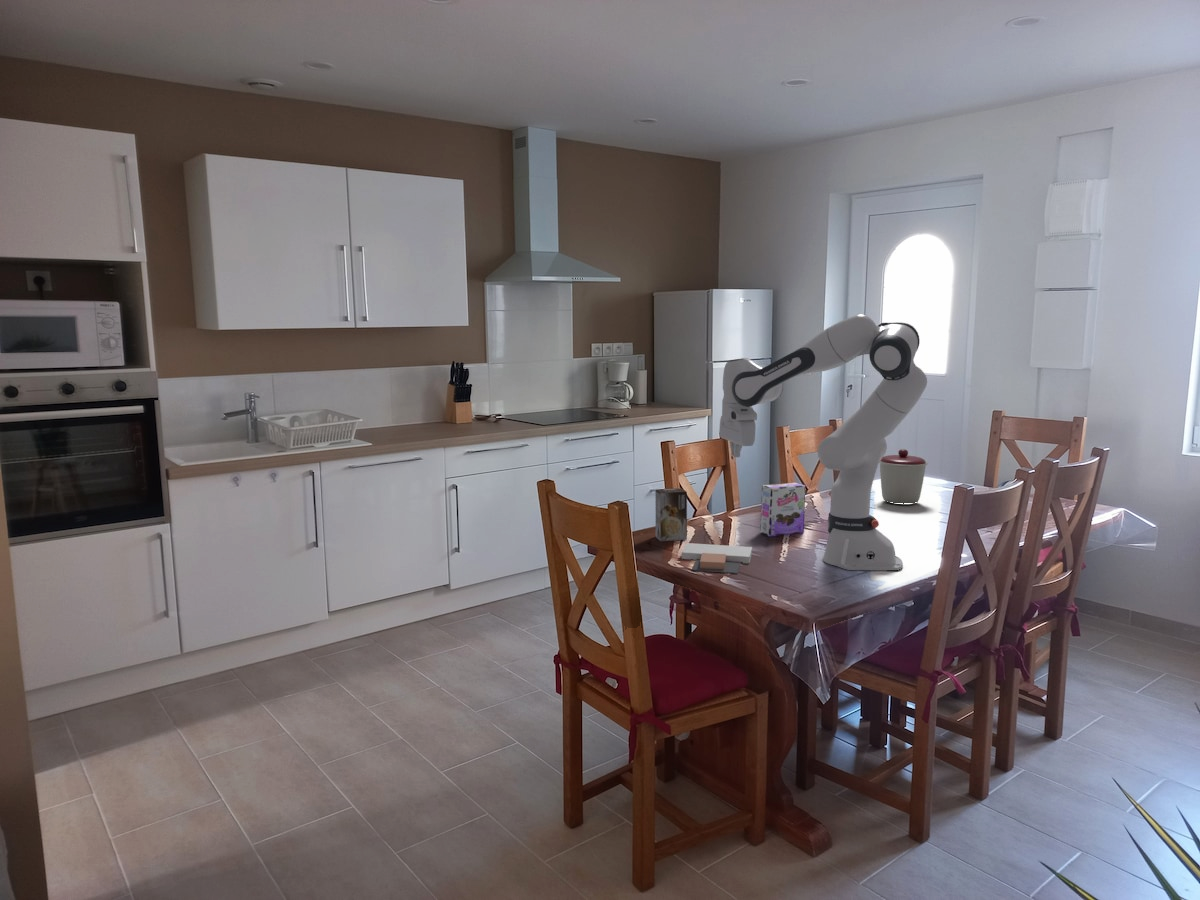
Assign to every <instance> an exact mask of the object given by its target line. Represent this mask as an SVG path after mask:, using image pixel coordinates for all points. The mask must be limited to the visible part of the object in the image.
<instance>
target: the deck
mask: <svg viewBox="0 0 1200 900" xmlns="http://www.w3.org/2000/svg"><path fill="white" fill-rule="evenodd" d="M702 553H713V554H726V561H733V562H743V563H742V564H750V563H751V558H752V555H753V547H752V546H739V545H725V544H724V545H723V544H710V543H709V544H707V543H706V544H705V543H692V542H691V543H689V542H686V544H685V545H684V548H683V550H682V551H681V560H691V559H693V560H695V561H696V559H701V556H702ZM693 560H692V561H693Z"/></svg>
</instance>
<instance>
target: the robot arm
mask: <svg viewBox="0 0 1200 900" xmlns="http://www.w3.org/2000/svg"><path fill="white" fill-rule="evenodd" d="M919 346H920V335H919V332H918V330H917V329H916V328H915V327H914V326H913V325H912V324H909V323H908V322H903V321H902V322H900V321H898V322H881V323H880V324H878V325H877V324H876V323H875V321H874V320H873V319H872V318H871V317H870V316H868V315H865V314H857V315H853V316H850V317H848V318H845V319H844V320H841V321H838V322H837V323H835V324H833V325H831V326H829V327H827V328H825V329H824V330H822V331H821V332H819V333H818V334H816V335H815V336H814V337H812V338H811V339H809V340H807V342H805V343H803V344H802V345H801V346H799V347H797V348H796V349H795V350H794V351H792V352H791V353H789V354H786V355H784V356H783V357H781V358H779V359H777V360H775V361H774V362H772V363H770V364H768V365H766V366H764V367H761V366H760V365H758V364H756V363H755V362H753V361H752V359H751V358H748V357H747V358H746V357H743V358H735V359H730V360H728V361H727V362H726V363H725V365H724V368H723V376H722V390H723V398H722V400H721V401H722V402H721V405H722V406H721V407H722V408H721V416H720V419H719V430H718V432H719V433H718V435H719V438H721V439H723V440H726V441H729V448H730V452H731V453H730V455H731V457H734V458H740V457H741V451H742V448H743V447H752V446H754V443H755V439H756V421H757V419H758V414H757V412H756V411H755V410H754V407H753V406H755V405H761V404H765V403H766V404H767V403H770V402H773V401H775V400H777V399H779V397H781V395H782V393H783V390H784V383H785V382H787V381H788V380H791V379H793V378H795V377H798V376H801V375H805V374H810V373H811V374H812V373H821V372H826V371H830V370H833V369H836V368H838V367H841V366H843V365H845V364H847V363H849V362H851V361H852V360H854V359H856V358H857V357H861V356H865V355H869V356H868V357H869V361H870V364H871V366H872V367H873V369H874V370H875V371H877V372H878V373H879V374H880V375H881V376H882V377H881V378H883V379H882V380H881V382H880V383H879V384H877V387H876V388H875V390H873V392H872V393H871V394H870V395H869V397H868V398H867V399H866V401H865V402H864V403H863V404H862V405H861V407H859V409H857V411H856V412H854V414H852V415H851V416H850V417H849V418H847V419H846V420H845V421H844V422H843V423H842V424H841V425H840V426H838V428H837V429H836V430H834V431H833V432H832V433H831V434H829V435H828V436H826V437H824V438H823V439H822V440H821V441H820V443H819V445H818V446H817V447H818V448H817V457H818V460H819V462H820V463H821V464H822V466H824V468H826V469H828V470H833V471H839V473H838V476H837V478H836V480H835V481H834V482H833V484H832V486H831V489H830V490H831V491H830V509H829V510H830V511H829V513H828V518H827V532H828V534H827V535H828V536H827V541H826V547H825V549H824V550H825V551H824V553H823V555H822V561H823V562H824V563H827V564H828V565H831V566H832V565H833V566H836V567H839V568H842V569H844V570H847V571H887V570H898V571H900V570H902V569H903V567H904V565H903V564H904V563H903V560H902V559H901V558H900V557H898V556H897V555H896V551H895V550H896V549H895V547H894V543H893V542H892V541H891V540H890V539H889V538H888V537H887V536H885V535H884V534H883V533H882V532H880V531H879V530H878V529H877V528H878V527H879V526H880V523H879V521H878V519H877V518H876V517H875V516H873V515H871V514H870V509H871V508H870V507H871V494H872V488H873V484H874V479H875V476H876V474H877V469H878V467H879V466H880V463H879V462H880V460H881V459H882V458H883V457H884V456H886V455H885V454H886V452H887V449H888V447H887V441H886V439H885V438H886V437H888V436H890V435H891V434H892V433H894V431H895V430H896V429H897V427H898V426H900V424H901V423H902V422H903V420H904V419H905V418H906V417H907V415H908V414H910V412H911V411H912V409H913V408H914V407H915V405H916V404H917V403H918V401H919V400H920V398H921V396H922V395H923V393H924V391H925V390H926V387H927V384H928V377H927V376H926V375H927V374H925V372H924V371H923V370H922V368H920V367H918V366H917V365H916V364H915V362H914V359H915V356H916V353H917V351H918V350H919ZM901 568H902V569H901ZM899 569H900V570H899Z"/></svg>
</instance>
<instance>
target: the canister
mask: <svg viewBox="0 0 1200 900" xmlns="http://www.w3.org/2000/svg"><path fill="white" fill-rule="evenodd" d="M928 464H929V462H928V461H927V460H925V459H924V458H922V457H919V456H913V455H909V451H908V450H907V449H905V448H901V449H899V450H898V454H891V455H884V456H883V458H882V459H881V460H880V462H879V469H880V470H879V471H880V487H881V496H882V499H883V501H884V500H885V501H888V502H893V503H903V504H904V503H915V502H917V503H918V502H919V500H920V498H921V494H922V489H923V484H924V478H925V472H926V467H927V465H928ZM885 501H884V502H885Z"/></svg>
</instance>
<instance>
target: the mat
mask: <svg viewBox="0 0 1200 900" xmlns="http://www.w3.org/2000/svg"><path fill="white" fill-rule="evenodd" d="M700 560H701V559H696V560H695V561H694V563H693V566H692V567H691V569H690V570H695V571H694V572H700V571H706V572H705V573H714V572H721V573H720V574H728V573H734V574H733V575H738V574H737V573H739V569H740V566H741V564H742V563H741V562H733V561H726V564H725V569H706V568H700ZM740 563H741V564H740Z"/></svg>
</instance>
